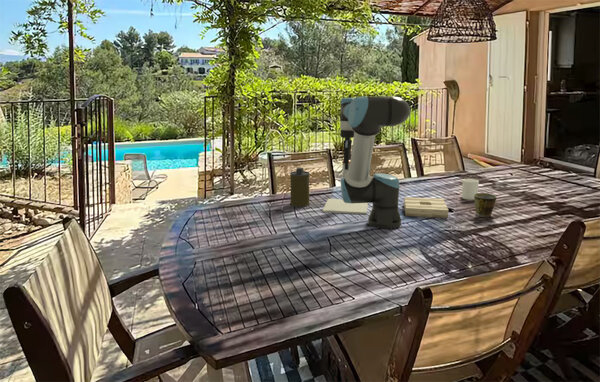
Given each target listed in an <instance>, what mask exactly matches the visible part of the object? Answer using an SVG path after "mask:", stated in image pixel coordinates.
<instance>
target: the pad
mask: <svg viewBox="0 0 600 382" xmlns="http://www.w3.org/2000/svg"><path fill="white" fill-rule="evenodd" d="M368 207H369V203H353V204H352V203H345V202H344V201H343V198H342V199H341V198H328V199H327V200H326V203H325V204H324V206H323V209H322V213H332V214H334V213H335V214H352V215H367V214H368Z"/></svg>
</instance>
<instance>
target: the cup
mask: <svg viewBox="0 0 600 382" xmlns="http://www.w3.org/2000/svg"><path fill="white" fill-rule="evenodd" d="M478 191H479V180H478V179H475V178H464V179H462V185H461V198H462V199H464V200H468V201H475V199H474V195H475V194H477V193H479V192H478Z"/></svg>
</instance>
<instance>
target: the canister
mask: <svg viewBox="0 0 600 382" xmlns="http://www.w3.org/2000/svg"><path fill="white" fill-rule="evenodd" d="M289 174H290V177H289V178H290V206H292V207H294V208H306V207H309V206H310V174H311V173H310V172H309V171H305V169H304V167H296V170H295V171H291V172H290V173H289Z"/></svg>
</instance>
